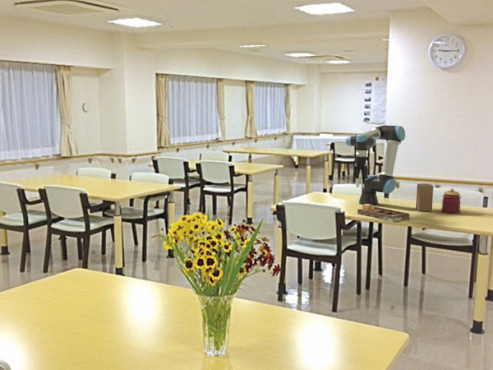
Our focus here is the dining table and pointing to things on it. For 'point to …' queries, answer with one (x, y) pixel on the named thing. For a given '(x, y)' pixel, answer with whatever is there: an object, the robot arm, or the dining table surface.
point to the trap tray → (385, 214)
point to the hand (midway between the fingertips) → (360, 187)
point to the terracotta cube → (368, 207)
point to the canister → (451, 202)
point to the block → (424, 197)
